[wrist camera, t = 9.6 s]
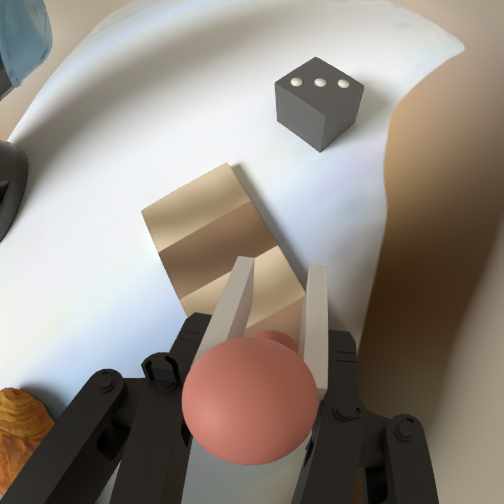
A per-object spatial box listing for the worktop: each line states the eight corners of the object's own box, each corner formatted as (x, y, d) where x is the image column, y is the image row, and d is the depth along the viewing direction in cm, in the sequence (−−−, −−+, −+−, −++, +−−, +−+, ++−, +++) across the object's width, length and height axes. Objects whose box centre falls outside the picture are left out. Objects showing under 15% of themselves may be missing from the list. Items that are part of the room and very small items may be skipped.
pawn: (224, 349, 16) (122, 372, 5) (283, 318, 16) (279, 291, 6) (256, 406, 15) (207, 513, 4) (315, 375, 15) (367, 447, 5)
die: (277, 121, 25) (274, 81, 20) (313, 94, 26) (315, 55, 21) (319, 153, 24) (325, 115, 19) (354, 123, 25) (364, 85, 20)
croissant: (94, 415, 22) (41, 421, 15) (86, 531, 17) (46, 556, 9) (4, 365, 24) (-45, 355, 17) (-1, 471, 18) (-44, 476, 11)
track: (145, 215, 24) (140, 211, 23) (229, 167, 24) (227, 162, 23) (233, 397, 20) (231, 400, 19) (333, 344, 20) (335, 345, 19)
